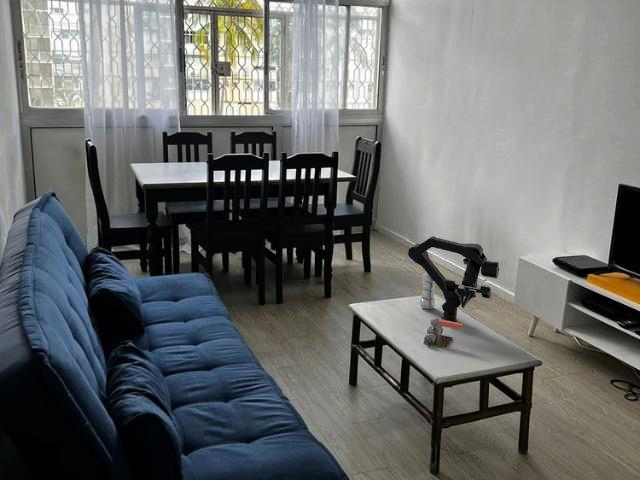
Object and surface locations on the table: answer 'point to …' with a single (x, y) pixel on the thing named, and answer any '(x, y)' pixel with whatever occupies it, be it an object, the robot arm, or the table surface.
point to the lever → (446, 323)
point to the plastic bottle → (427, 292)
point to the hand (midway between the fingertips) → (462, 307)
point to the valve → (436, 337)
